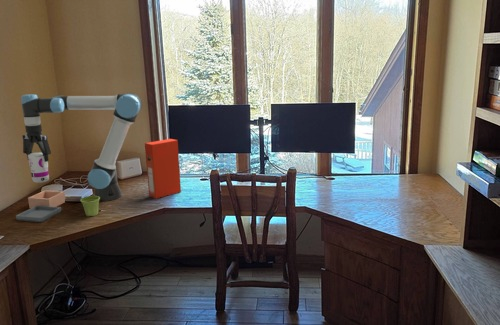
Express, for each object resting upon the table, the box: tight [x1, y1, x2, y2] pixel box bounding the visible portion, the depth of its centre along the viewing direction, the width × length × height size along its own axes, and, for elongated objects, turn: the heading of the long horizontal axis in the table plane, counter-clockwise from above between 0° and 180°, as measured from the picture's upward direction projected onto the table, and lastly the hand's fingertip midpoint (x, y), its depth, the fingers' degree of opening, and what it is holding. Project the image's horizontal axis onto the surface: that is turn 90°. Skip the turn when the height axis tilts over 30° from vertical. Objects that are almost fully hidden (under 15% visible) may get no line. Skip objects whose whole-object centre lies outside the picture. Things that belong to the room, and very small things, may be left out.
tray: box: [15, 206, 63, 223], centre depth 211 cm, size 15×15×2 cm
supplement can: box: [28, 151, 50, 184], centre depth 216 cm, size 8×8×15 cm
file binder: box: [144, 138, 182, 200], centre depth 239 cm, size 8×17×32 cm, turn 135°
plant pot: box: [80, 195, 100, 217], centre depth 211 cm, size 9×9×9 cm
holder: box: [27, 190, 66, 209], centre depth 226 cm, size 13×13×6 cm
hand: (39, 166), depth 216 cm, fingers closed on supplement can, 8 cm apart
